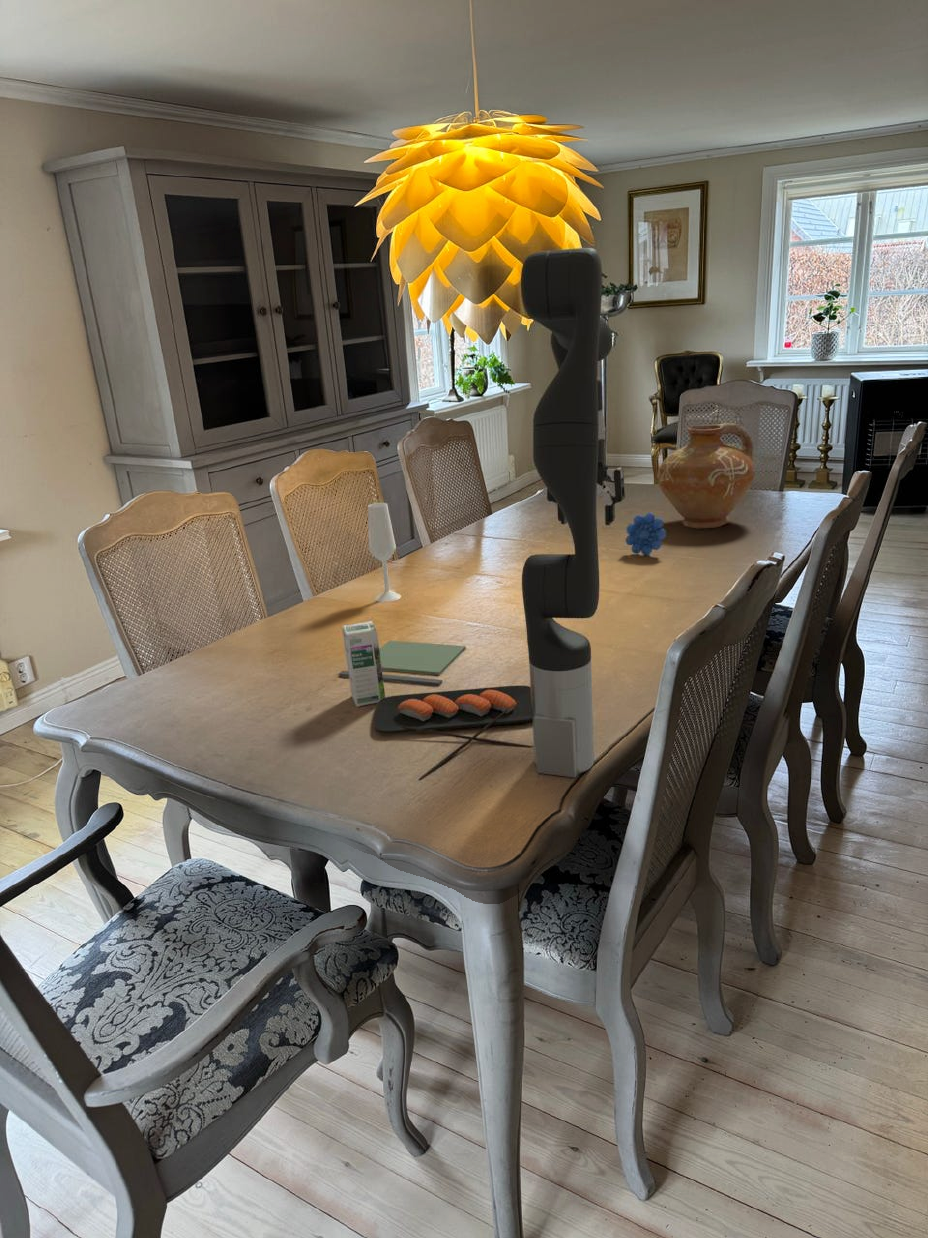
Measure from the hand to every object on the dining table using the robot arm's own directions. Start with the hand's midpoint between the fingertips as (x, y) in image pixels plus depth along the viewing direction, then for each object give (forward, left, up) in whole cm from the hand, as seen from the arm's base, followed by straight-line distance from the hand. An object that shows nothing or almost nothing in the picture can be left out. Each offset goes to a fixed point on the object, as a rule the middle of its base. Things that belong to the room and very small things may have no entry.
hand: (586, 523), depth 161 cm
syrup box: (-26, +36, -28) cm, 53 cm away
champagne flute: (+30, +60, -28) cm, 73 cm away
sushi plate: (-35, +14, -29) cm, 47 cm away
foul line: (-17, +36, -28) cm, 49 cm away
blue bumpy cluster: (+76, +3, -28) cm, 81 cm away
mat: (-6, +36, -28) cm, 46 cm away
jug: (+111, -8, -28) cm, 114 cm away
